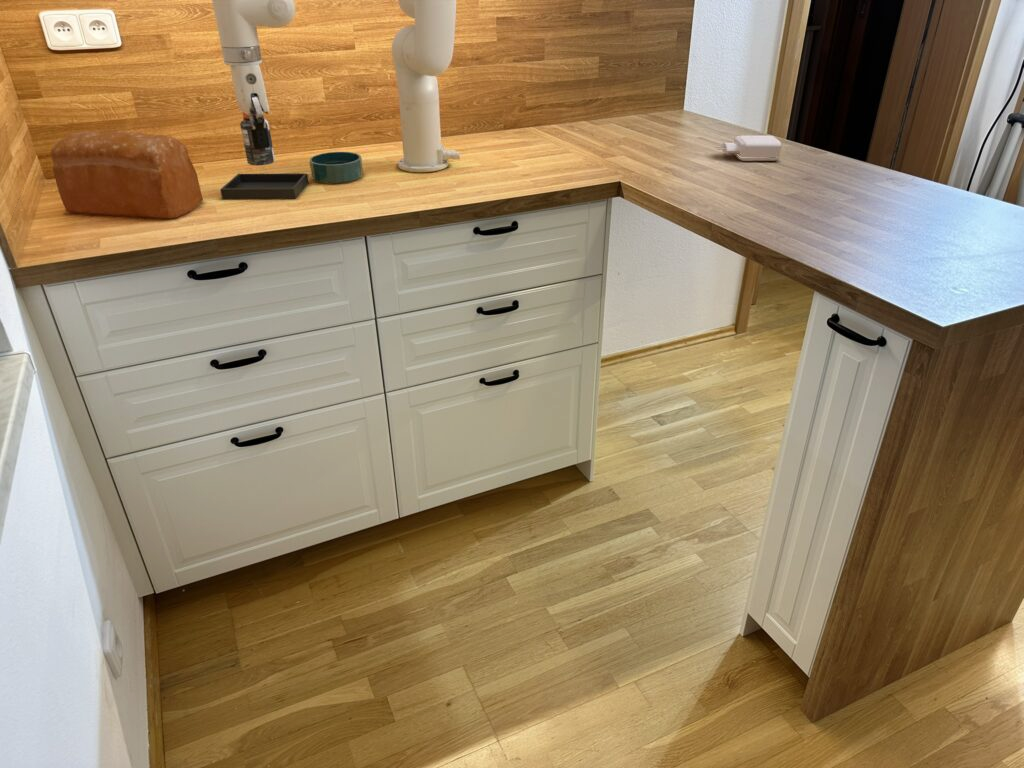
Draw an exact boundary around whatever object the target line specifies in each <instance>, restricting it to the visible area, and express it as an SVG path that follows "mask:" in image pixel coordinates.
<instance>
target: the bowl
mask: <svg viewBox="0 0 1024 768" xmlns="http://www.w3.org/2000/svg"><path fill="white" fill-rule="evenodd" d="M308 161H309V168H310V175H311V179H312V180H314V181H315V182H318V183H323V184H331V185H332V184H333V185H335V184H346V183H351V182H353V181H354V182H355V181H356V180H359V179H360V178H362V177H364V168H363V158H362V155H361V154H359V153H357V152H351V151H329V152H323V153H319V154H315V155H313V156H311V157H310V158H309V159H308Z"/></svg>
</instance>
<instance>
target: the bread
mask: <svg viewBox="0 0 1024 768" xmlns="http://www.w3.org/2000/svg"><path fill="white" fill-rule="evenodd" d="M49 155H50V157H51V160H52V163H53V166H52V172H53V176H54V180H55V182H56V186H57V190H58V194H59V197H60V199H61V202H62V204H63V207H64V209H65V211H66V212H67V213H72V214H85V215H100V216H101V215H102V216H116V217H117V216H119V217H137V218H149V219H175V218H177V217H180V216H182V215H184V214H187V213H189V212H191V211H192V210H194V209H196V208H198V206H199V205H200V204H201V203H202V202H203V201H204V198H203V195H202V190H201V187H200V182H199V178H198V174H197V171H196V169H195V167H194V165H193V162H192V160H191V158H190V155H189V152H188V148H187V146H186V145H184V144H183V143H182V142H181V140H179V139H178V138H175V137H174V136H170V135H167V134H154V133H153V134H149V133H142V132H135V131H128V130H127V131H126V130H107V131H106V130H105V131H94V130H86V131H75V132H72V133H70V134H67V135H66V136H65V137H63V138H61V139H60V140H59V141H57V142H55V143H54V145H53V146H52V149H51V150H50V153H49Z"/></svg>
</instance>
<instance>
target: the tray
mask: <svg viewBox="0 0 1024 768" xmlns="http://www.w3.org/2000/svg"><path fill="white" fill-rule="evenodd" d="M309 182H310V181H309V175H308V172H307V173H305V172H303V173H301V172H300V173H299V172H298V173H297V172H296V173H294V172H293V173H289V172H288V173H287V172H286V173H285V172H283V173H237V174H236V175H234V177H232V179H230V180H229V181H228V182H227V183H226V184H224V185H223V186H222V187H221V188H220V189H219V190H220V195H221V200H296V199H297V198H298V197H299V195H300V194H301V193H302V192H303V191H304V190H305V188H306V187H307V186H308V185H309Z"/></svg>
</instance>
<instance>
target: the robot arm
mask: <svg viewBox="0 0 1024 768" xmlns="http://www.w3.org/2000/svg"><path fill="white" fill-rule="evenodd" d="M397 2H398V5H399V8H400V10H401V11H402V12H403V13H404V15H406V16H407V17H409V18H412V19H414V24H413V25H412V24H411V25H406V26H404V27H402V28H400V29H399V30H398V31H397V32H396V33H395V35H394V36H393V39H392V44H391V57H392V62H393V63H392V64H393V67H394V71H395V77H396V82H397V83H396V84H397V92H398V93H397V94H398V106H399V117H400V128H401V131H400V132H401V143H402V153H403V154H402V155H403V157H402V158H400V159H399V160H398V161H397V167H398V169H400V170H401V171H405V172H411V173H430V172H431V173H432V172H437V171H441V170H444V169H446V168H447V167H448V166H449V160H454V161H455V160H458V161H459V160H460V158H461V153H460V150H459V151H458V150H455V149H450V150H448V149H446V148H445V146H444V145H445V144H442V132H441V114H440V94H439V93H440V92H439V84H438V83H439V82H438V79H437V78H438V76H440V75H442V74H444V73H445V72H446V71H447V70H448V69H449V67H450V65H451V63H452V60H453V55H454V48H455V38H456V37H455V35H456V34H455V33H456V21H457V20H456V19H457V18H456V17H457V0H398V1H397ZM212 6H213V11H214V17H215V21H216V26H217V32H218V38H219V42H220V43H219V44H220V48H221V52H222V53H221V54H222V57H223V63H224V65H226V66H229V67H230V74H231V79H232V80H231V81H232V85H233V92H234V96H235V101H236V105H237V107H238V109H239V111H241V114H242V115H243V112H244V113H245V114H247V115H249V118H250V122H251V126H252V129H251V133H252V139H253V144H254V148H255V149H260V148H268V147H269V146H270V145H269V140H268V134H267V128H266V124H265V120H264V119H265V117H264V114H265V115H268V114H270V106H269V100H268V96H267V91H266V85H265V81H264V76H263V73H262V69H261V66H260V64H262V63H263V58H262V52H261V46H260V40H259V34H258V27H266V28H283V27H286V26H288V25H289V24H290V23H291V22H292V21H293V20H294V18H295V15H296V5H295V0H212ZM253 111H255V113H254V114H251V112H253ZM254 117H256V118H255V119H253V118H254ZM243 120H244V117H243V116H242V121H243Z"/></svg>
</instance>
